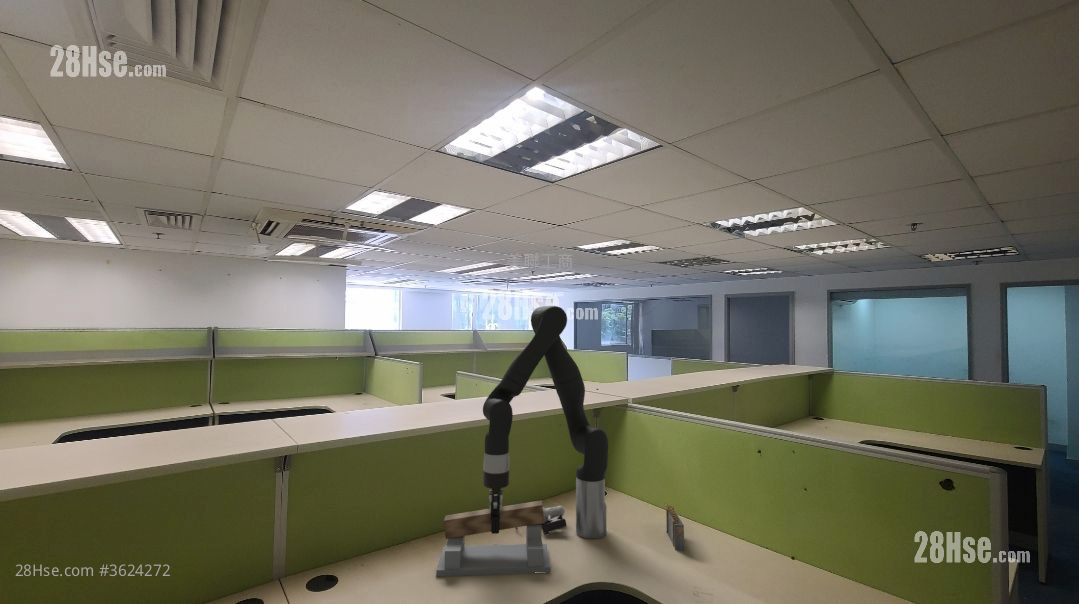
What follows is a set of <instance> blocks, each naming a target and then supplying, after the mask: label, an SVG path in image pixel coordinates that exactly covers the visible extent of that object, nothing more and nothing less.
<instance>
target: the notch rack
mask: <svg viewBox="0 0 1079 604" xmlns="http://www.w3.org/2000/svg"><path fill="white" fill-rule="evenodd" d="M525 527H526V531H525V532H526V533H525V535H526V536H525V537H526V539H525V540H526V543H523V544H522V543H521V544H518V543H517V544H487V545H486V544H484V545H483V544H481V545H480V544H479V545H477V544H476V545H465V543H466V542H465V537H466V536H461V537H455V538H448V540H447V543H446V545H444V546H442V547H443V548H442V551H441V555H440V558H439V560H438V564H437V567H436V571H435V573H436V575H435V576H436V577H454V576H456V577H457V576H459V577H460V576H489V575H490V576H492V575H498V576H499V575H521V574H522V575H527V574H526V573H533V574H536V573H535V572H552V571H551V569H552V567H551V561H550V554H549V550H548V545H547V543H543V538H542V537H543V536H542V533H543V530H542V526H541V524H535V525H528V526H525Z"/></svg>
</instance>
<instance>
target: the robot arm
mask: <svg viewBox="0 0 1079 604" xmlns="http://www.w3.org/2000/svg"><path fill="white" fill-rule="evenodd" d="M567 324H568V316H567V313H566V311H565V310H564V308H562V307H560V306H556V305H545V306H538V307H536V308H535V309H534V310H533V311H532V312H531V316H530V325H531V328H532V330H533V333H534V336H533V337H532V339H531V340H530V341H529V343H528V344H527V345H526V346H525V347H524V349H522V351H521V352H519V354H518V355H517V356H515V358H514V360H513V361H512V362H511V364H509V366H508V368H507V370H506V372H505V373H504V375H503V377H502V378H501V380H500V381H499V383H498V384H497V385H496V386H495V388H494V389H493V390H492V391H491V392H490V394H488V396H487V398H486V399H485V401H484V403H483V406H482V415H483V416H484V418H485V419H486V420H488V421H489V425H488V427H489V428H488V432H487V433H485V437H484V455H483V467H482V468H483V472H482V473H483V474H482V475H483V478H482V482H483V483H482V484H483V486H484V487H485V488H487V489H490V490H489V493H488V500H489V509H490V511H491V517H490V519H491V520H492V522H491V534H495V535H496V534H500V530H499V520H500V511H501V510H502V507H503V499H504V488H506V487H508V486H509V485H510V461H511V460H510V454H509V450H510V434H511V430H512V429H511V428H512V424H513V417H514V416H513V408H512V404H511V402H512V401H513V399H514V398H516V397H518V396H520V395H521V393H522V392H523V390H524V389H525V387H526V385H527V383H528V381H529V380H530V378H531V377H532V374H533V373H534V371H535V369H536V368H537V367H538V365H539V363H540V362H541V360H542V359H543V357H545V362H546V364H547V365H546V366H547V367H548V370H549V372H550V376H551V379H552V383H553V385H554V388H555V392H556V394H557V396H558V399H559V401H560V405H561V408H562V411H563V414H564V417H565V419H566V424H567V429H568V433H569V438H570V440H571V441H570V442H571V445H572V446H573V449H574V450H575V451H576V452H578V453H579V454H582V455H584V456H583V457H584V458H583V464H581V465H578V466H577V467H576V469H575V470H576V473H575V533H576V534H577V535H578V536H580V537H582V538H585V539H594V540H595V539H599V538H603V537H607V532H608V531H607V526H608V525H607V524H608V523H607V518H608V517H607V503H606V499H605V498H606V483H605V482H606V481H605V480H606V479H605V478H606V471H607V468H608V457H609V456H608V455H609V438H608V435H607V434H606V432H605V431H604V430H603V429H601V428H598V427H595V426H591V425H590V423H589V421H588V418H587V415H586V413H585V407H584V403H585V402H584V401H585V396H586V388H585V387H586V386H585V382H584V380H583V377H582V373H581V371H580V368H579V366H578V365H577V362H575V360H574V359H573V358H572V356H571V355H570V353H569V352H568V350H567V349H566V348H565V345H564V344H563V341H562V339H561V335H562V334H563V332H564V330H565V329H566V327H567ZM502 488H503V489H502ZM493 514H498V515H493Z"/></svg>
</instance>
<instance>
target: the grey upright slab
mask: <svg viewBox="0 0 1079 604" xmlns="http://www.w3.org/2000/svg"><path fill="white" fill-rule="evenodd" d="M664 505H665V506H666V507H667V509H666V512H665V516H666V534H667V537H668V539H669V540H670V542H671V543H672V547H673V548H674V550H675V551H685V531H684V530H685V529H684V528H685V527H684V523H683V521H682V520H681V517H679V514H678V513H677V512H676V510H675V507H674V506H672V505H669V504H668V503H666V502H664Z"/></svg>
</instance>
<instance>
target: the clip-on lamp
mask: <svg viewBox="0 0 1079 604" xmlns="http://www.w3.org/2000/svg"><path fill="white" fill-rule="evenodd" d="M543 514H544V522H545V523H541V527H542V533H544V535H545V534H549V535H550V532H552V531H556V530H559V529H563V528H565V527H567V520H566V518H563V516H564V515H565V508H564V506H562V505H556V506H552V507H543ZM515 529H518V527H516V528H515Z"/></svg>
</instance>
